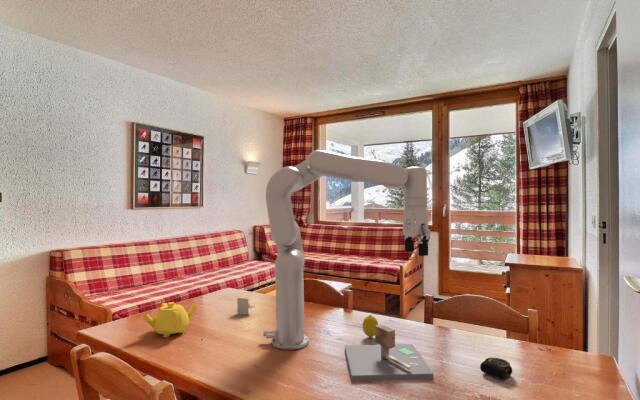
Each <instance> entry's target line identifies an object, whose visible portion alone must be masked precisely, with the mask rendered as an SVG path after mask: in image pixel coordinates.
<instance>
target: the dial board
mask: <svg viewBox="0 0 640 400" xmlns="http://www.w3.org/2000/svg"><path fill="white" fill-rule="evenodd" d="M344 352H345V357H346V361H347V365H348V370H349V373H350V374H349V375H350V378H351V382H360V381H361V382H363V381H364V382H368V381H369V382H371V381H372V382H373V381H375V382H376V381H409V380H410V381H411V380H412V381H414V380H419V381H420V380H434V377H435V376H434V372H433V371H432V370H431V368H430V366H429V365H428V364H427V362H426V361H425V360H424V358H423V357H422V356H421V354H420V353H419V351H418V349H416V347H415V345H414V344H413V343H407V344H405V343H404V344H403V343H401V344H396V343H395V347H394V348H391V349H389V355H391V356H393V357H395V358H397V359H398V360H400V361H402V362H404V363H406V364H408V365H410V366H411V369H410V370H408V369H406V368H404V367H402V366H400V365H398V364H396V363H395V362H393V361H391V360H389V359H383V358H381V345H380V344H364V345H363V344H357V345H356V344H355V345H344Z"/></svg>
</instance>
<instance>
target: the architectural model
mask: <svg viewBox="0 0 640 400" xmlns="http://www.w3.org/2000/svg"><path fill="white" fill-rule="evenodd" d="M250 303H251V302H250ZM250 303H249V298H246V297H237V308H236V309H237V310H236V311H237V313H241V314H240V315H242V314H248V315H249V309H250V310H251V309H254V308H255V307H256V306H255V305H251V304H250ZM237 313H236V314H237Z"/></svg>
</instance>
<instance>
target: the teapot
mask: <svg viewBox="0 0 640 400" xmlns="http://www.w3.org/2000/svg"><path fill="white" fill-rule="evenodd" d="M197 309H198V305H195V304H192V305H191V307H190V308H189V309H188V311H186V310H185V308H184V306H183V305H182V304H178V303H177V304H176V303H175V302H174V301H171V302H169V301H168V303H167V302H162V303H161V307H160V308H159V309H158V311H157V312H156V313H155V316H154V317H153V318H152V317H151V316H150V314H148V313H145V314H143V316H142V317H141V318H142V319H143V320H144V321H145V322H146V323H147V324H148V325H149V326H151V328H152V330H153V331H154V332H155V333H157V334H158V335H163V336H162V338H163V337H167V338H169V337H170V336H171V334H172V335H174V334H178V333H179V334H178V335H181V334H180V333H183V334H185V330H186V329H187V327H189V324H190V318H191V317H192V315H193V314H194V313H195V311H196V310H197Z"/></svg>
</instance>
